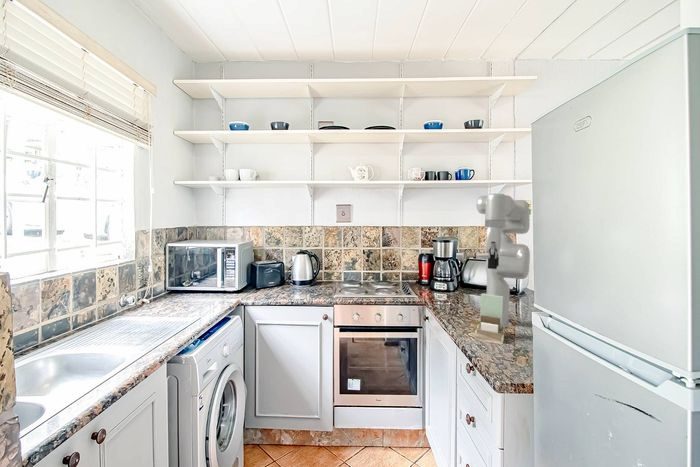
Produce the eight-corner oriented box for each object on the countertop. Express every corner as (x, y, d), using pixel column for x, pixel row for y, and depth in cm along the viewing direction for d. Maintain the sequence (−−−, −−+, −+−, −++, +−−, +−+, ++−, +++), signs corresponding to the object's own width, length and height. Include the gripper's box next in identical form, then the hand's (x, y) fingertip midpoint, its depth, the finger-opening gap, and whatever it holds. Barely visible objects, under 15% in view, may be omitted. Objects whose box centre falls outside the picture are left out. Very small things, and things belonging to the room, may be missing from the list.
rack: (477, 333, 129) (478, 322, 129) (504, 338, 124) (504, 326, 124) (474, 341, 120) (474, 329, 120) (502, 347, 115) (503, 334, 115)
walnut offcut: (480, 334, 124) (481, 315, 124) (499, 338, 121) (500, 318, 121) (479, 335, 123) (480, 316, 123) (499, 339, 119) (500, 319, 119)
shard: (471, 320, 148) (471, 316, 148) (487, 324, 143) (487, 320, 143) (462, 325, 140) (462, 321, 140) (479, 329, 135) (479, 325, 135)
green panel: (480, 331, 127) (481, 293, 127) (501, 335, 124) (503, 296, 123) (479, 333, 126) (481, 294, 125) (501, 337, 122) (502, 297, 121)
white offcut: (480, 337, 121) (481, 322, 121) (497, 340, 118) (498, 324, 118) (480, 338, 120) (481, 323, 120) (497, 341, 117) (498, 326, 117)
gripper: (487, 224, 132) (485, 264, 133) (482, 224, 117) (480, 268, 118) (506, 225, 129) (504, 266, 129) (504, 224, 114) (502, 270, 114)
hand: (493, 267), depth 124 cm, fingers open, 9 cm apart
